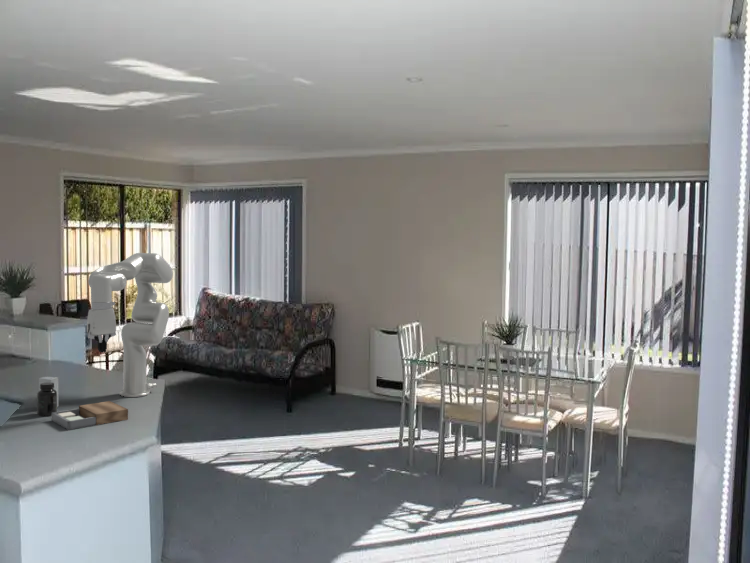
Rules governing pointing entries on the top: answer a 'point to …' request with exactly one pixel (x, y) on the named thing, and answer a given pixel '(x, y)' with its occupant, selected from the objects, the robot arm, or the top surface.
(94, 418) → the box
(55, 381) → the skincare box
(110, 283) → the robot arm
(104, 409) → the board
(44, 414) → the supplement bottle
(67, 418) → the tile sage
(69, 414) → the tile cream
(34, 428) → the top surface
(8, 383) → the top surface
